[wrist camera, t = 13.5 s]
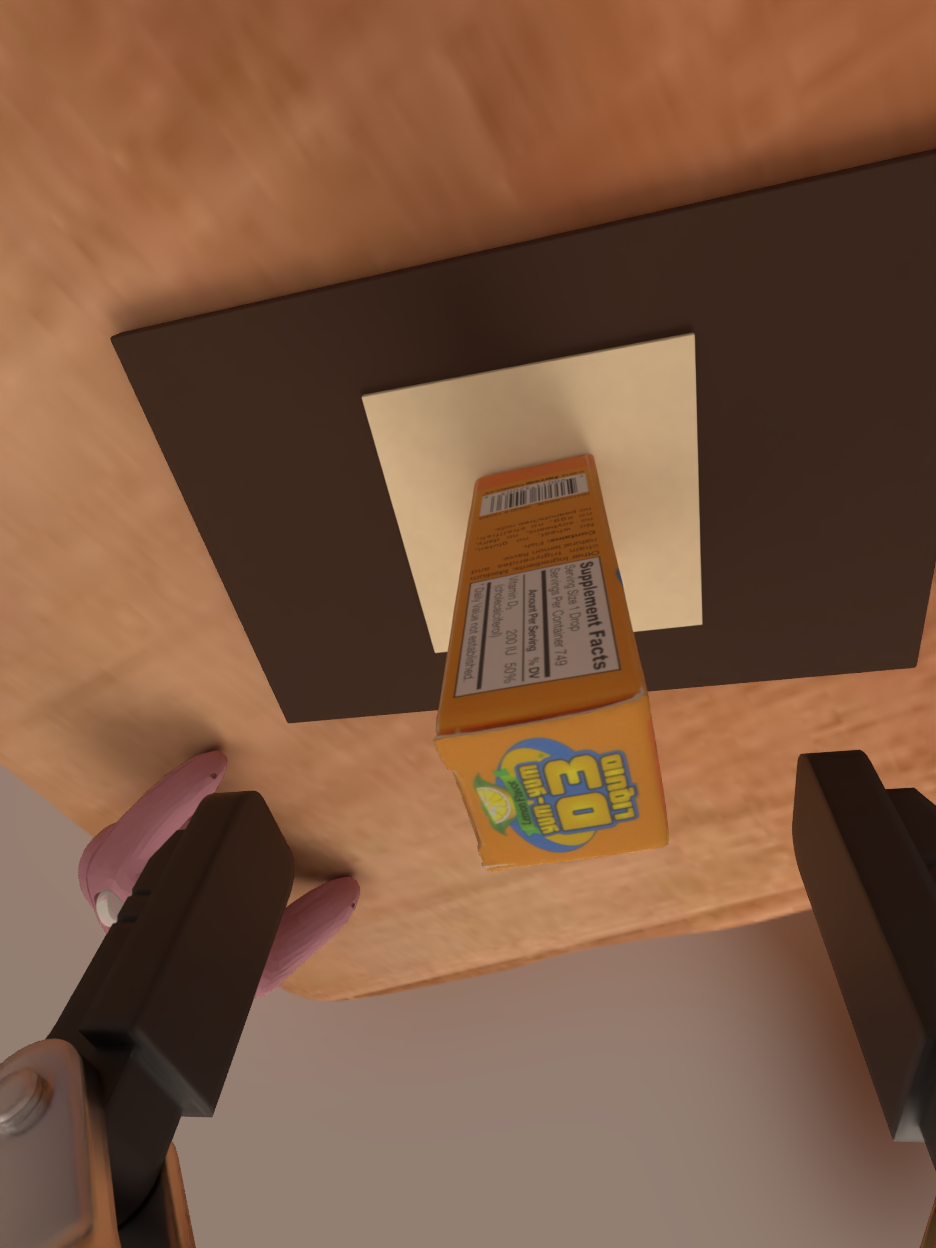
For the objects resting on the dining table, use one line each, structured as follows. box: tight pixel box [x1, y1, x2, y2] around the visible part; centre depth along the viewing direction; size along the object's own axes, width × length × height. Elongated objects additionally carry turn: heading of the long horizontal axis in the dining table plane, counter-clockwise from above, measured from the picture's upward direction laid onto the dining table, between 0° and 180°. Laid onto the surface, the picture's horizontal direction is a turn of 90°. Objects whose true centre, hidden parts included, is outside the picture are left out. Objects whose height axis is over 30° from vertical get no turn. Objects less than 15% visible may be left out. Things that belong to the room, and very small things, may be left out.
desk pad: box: [111, 149, 936, 723], centre depth 19 cm, size 20×13×1 cm, turn 102°
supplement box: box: [433, 454, 669, 872], centre depth 14 cm, size 3×3×10 cm
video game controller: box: [78, 751, 360, 998], centre depth 27 cm, size 10×5×7 cm, turn 32°
